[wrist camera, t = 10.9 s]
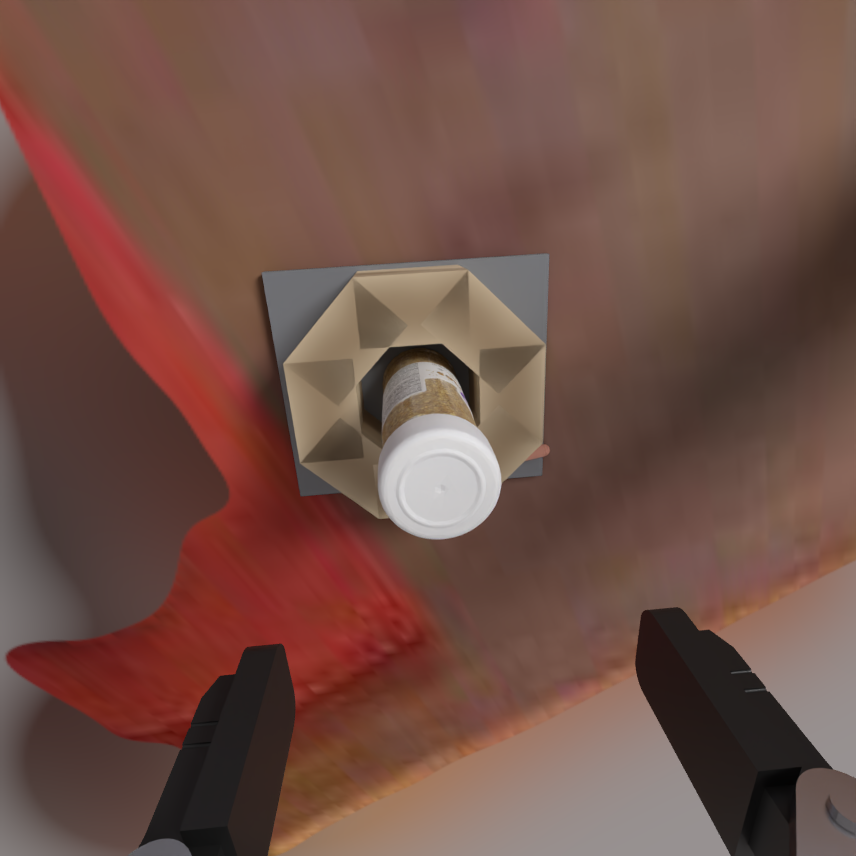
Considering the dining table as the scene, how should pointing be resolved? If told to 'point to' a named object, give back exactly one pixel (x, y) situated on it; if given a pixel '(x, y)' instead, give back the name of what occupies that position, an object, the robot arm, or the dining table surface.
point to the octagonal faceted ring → (406, 326)
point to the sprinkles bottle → (433, 451)
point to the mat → (315, 291)
